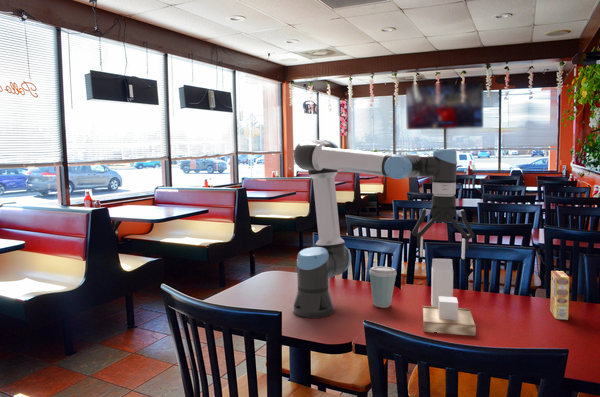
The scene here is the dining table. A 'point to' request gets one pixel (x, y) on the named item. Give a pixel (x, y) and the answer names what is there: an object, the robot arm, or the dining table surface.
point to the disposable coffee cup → (382, 285)
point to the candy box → (559, 295)
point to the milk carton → (441, 280)
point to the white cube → (448, 308)
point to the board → (448, 322)
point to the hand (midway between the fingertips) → (441, 257)
